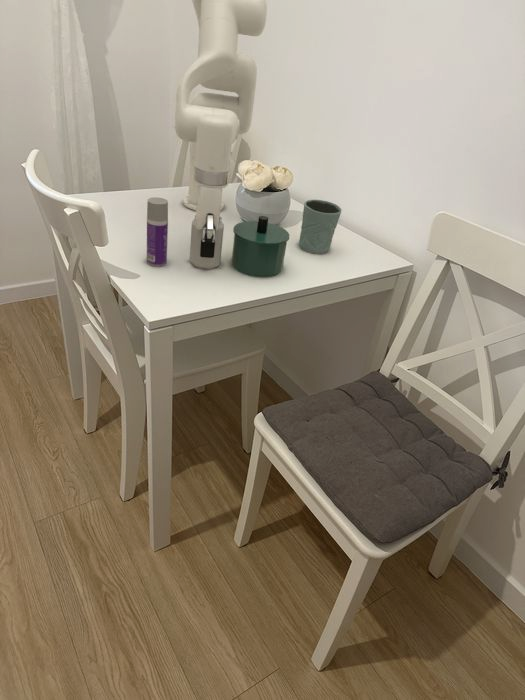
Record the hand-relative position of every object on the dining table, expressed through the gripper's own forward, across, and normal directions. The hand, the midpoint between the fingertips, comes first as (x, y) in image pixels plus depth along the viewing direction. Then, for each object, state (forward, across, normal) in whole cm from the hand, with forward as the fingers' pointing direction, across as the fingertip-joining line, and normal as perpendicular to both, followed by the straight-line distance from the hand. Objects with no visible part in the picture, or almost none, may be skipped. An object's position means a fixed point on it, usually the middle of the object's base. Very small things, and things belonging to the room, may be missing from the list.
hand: (206, 248), depth 122 cm
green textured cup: (+4, -15, +31) cm, 35 cm away
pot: (+4, -1, +13) cm, 14 cm away
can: (+4, 0, 0) cm, 4 cm away
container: (+4, +1, -12) cm, 12 cm away
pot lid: (-4, -1, +13) cm, 14 cm away
